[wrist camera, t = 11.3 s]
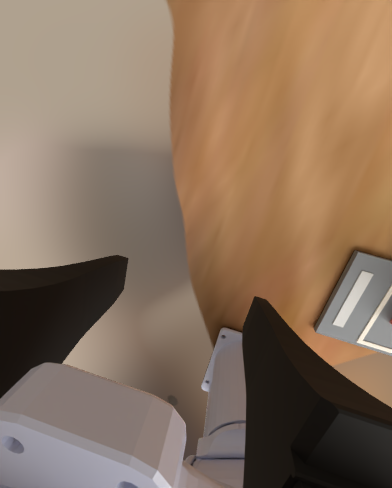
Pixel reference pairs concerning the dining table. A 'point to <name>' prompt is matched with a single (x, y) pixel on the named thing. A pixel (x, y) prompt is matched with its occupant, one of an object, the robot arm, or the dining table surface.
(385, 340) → the sheet board
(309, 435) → the robot arm
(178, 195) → the dining table surface
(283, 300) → the dining table surface
